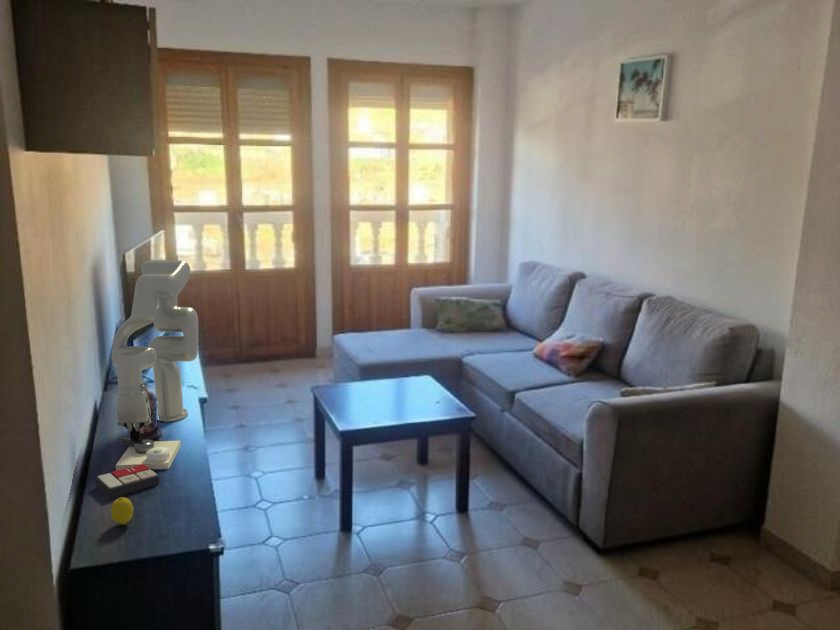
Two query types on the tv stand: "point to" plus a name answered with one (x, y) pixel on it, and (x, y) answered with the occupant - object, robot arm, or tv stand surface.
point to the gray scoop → (138, 444)
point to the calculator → (126, 481)
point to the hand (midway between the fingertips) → (135, 440)
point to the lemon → (122, 510)
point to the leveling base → (141, 458)
